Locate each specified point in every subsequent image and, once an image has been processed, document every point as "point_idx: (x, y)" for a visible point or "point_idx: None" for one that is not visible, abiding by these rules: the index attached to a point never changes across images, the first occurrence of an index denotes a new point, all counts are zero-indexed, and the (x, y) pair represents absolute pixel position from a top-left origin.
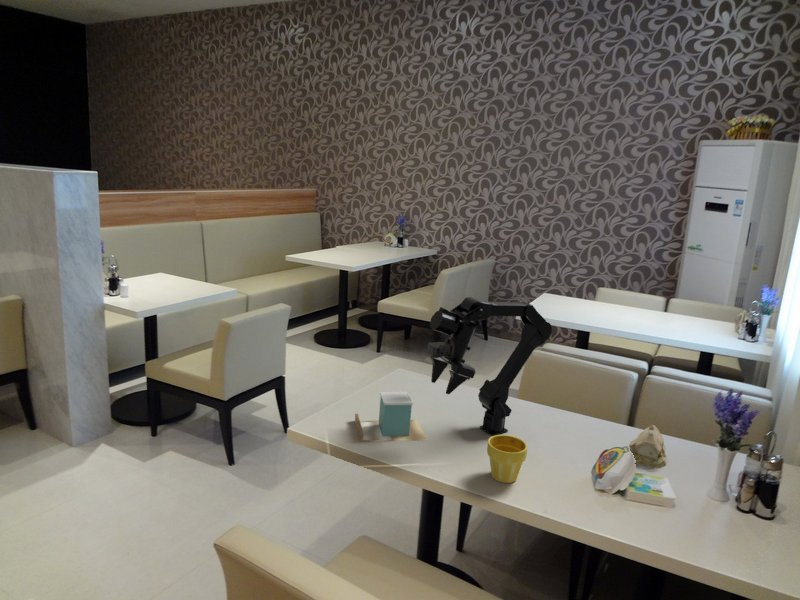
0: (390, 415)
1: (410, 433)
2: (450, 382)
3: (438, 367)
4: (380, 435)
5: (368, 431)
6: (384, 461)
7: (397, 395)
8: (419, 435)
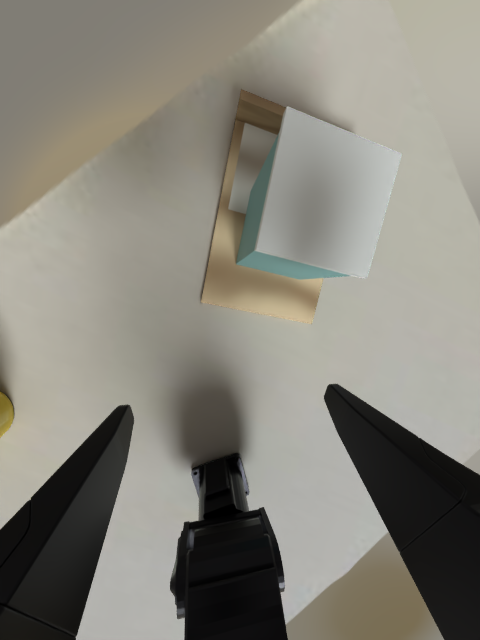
0: (263, 177)
1: (247, 274)
2: (24, 516)
3: (425, 515)
4: None
5: None
6: (122, 136)
7: (348, 217)
8: (231, 292)
